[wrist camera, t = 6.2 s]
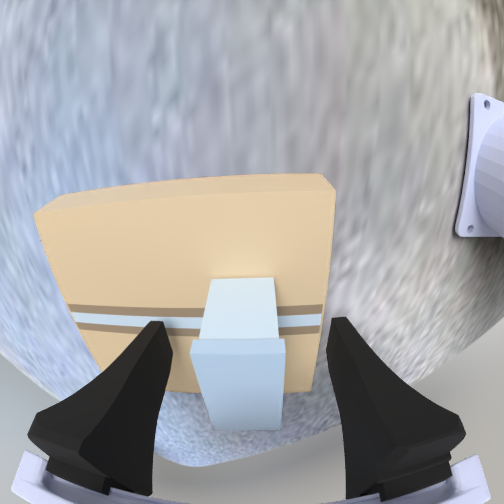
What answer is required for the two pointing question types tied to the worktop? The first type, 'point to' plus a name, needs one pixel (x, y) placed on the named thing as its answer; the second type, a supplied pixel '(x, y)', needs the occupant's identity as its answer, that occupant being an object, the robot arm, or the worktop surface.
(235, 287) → the tab
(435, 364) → the worktop surface
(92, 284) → the carton
